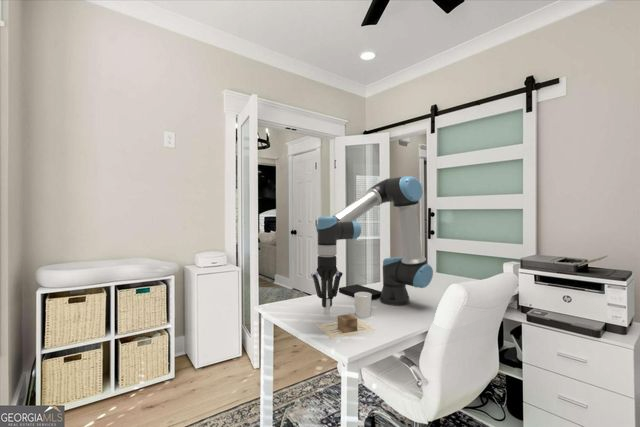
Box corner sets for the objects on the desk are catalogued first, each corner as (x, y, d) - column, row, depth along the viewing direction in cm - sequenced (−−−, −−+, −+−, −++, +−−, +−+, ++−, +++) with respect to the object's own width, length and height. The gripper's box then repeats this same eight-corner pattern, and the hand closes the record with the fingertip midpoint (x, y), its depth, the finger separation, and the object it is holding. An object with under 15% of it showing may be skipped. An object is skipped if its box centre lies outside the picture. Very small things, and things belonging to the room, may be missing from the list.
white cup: (353, 312, 147) (353, 291, 147) (370, 312, 147) (370, 291, 147) (355, 318, 139) (355, 296, 139) (373, 318, 139) (372, 296, 139)
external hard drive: (357, 289, 191) (357, 284, 191) (384, 297, 172) (384, 292, 172) (338, 292, 184) (338, 287, 183) (365, 302, 164) (365, 296, 164)
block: (350, 325, 131) (350, 313, 131) (357, 330, 125) (357, 318, 125) (337, 327, 129) (337, 315, 129) (343, 333, 123) (343, 320, 123)
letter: (358, 318, 139) (358, 318, 139) (375, 330, 125) (375, 330, 125) (316, 325, 132) (316, 324, 132) (330, 339, 118) (330, 338, 118)
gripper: (338, 253, 129) (338, 310, 129) (308, 255, 124) (308, 313, 125) (346, 255, 122) (345, 315, 122) (314, 257, 117) (314, 320, 118)
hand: (326, 314), depth 123 cm, fingers closed
